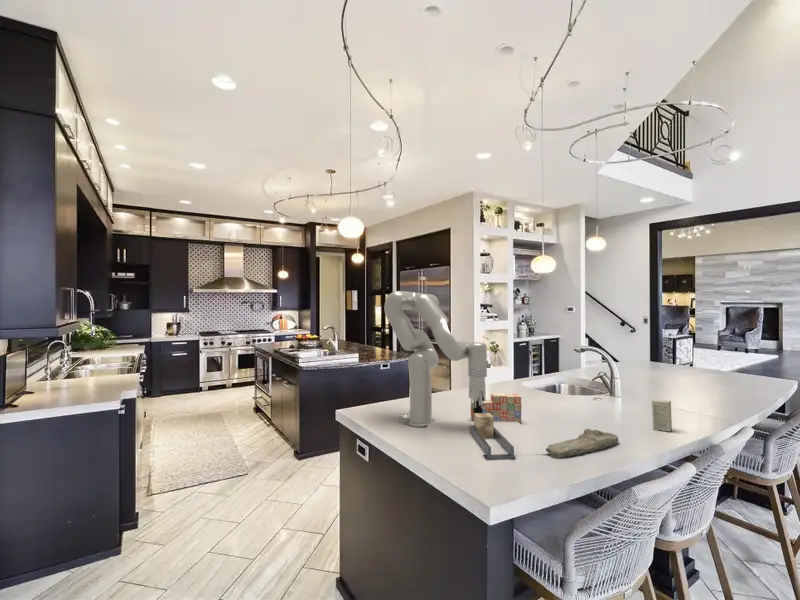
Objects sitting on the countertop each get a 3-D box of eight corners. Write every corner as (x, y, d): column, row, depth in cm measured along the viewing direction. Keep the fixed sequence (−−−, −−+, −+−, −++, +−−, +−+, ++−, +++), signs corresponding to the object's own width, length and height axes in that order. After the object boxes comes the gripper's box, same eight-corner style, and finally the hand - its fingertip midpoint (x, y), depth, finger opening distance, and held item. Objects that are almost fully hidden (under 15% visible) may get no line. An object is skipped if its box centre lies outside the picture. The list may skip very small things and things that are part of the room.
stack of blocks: (471, 423, 180) (471, 395, 180) (470, 419, 187) (470, 392, 187) (521, 424, 179) (521, 396, 179) (518, 420, 185) (518, 393, 185)
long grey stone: (538, 456, 145) (561, 467, 136) (538, 442, 144) (561, 452, 136) (601, 436, 162) (625, 444, 153) (601, 422, 161) (626, 431, 153)
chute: (486, 459, 137) (486, 447, 138) (468, 435, 163) (468, 425, 163) (515, 459, 138) (515, 447, 138) (493, 434, 164) (493, 424, 164)
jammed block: (478, 438, 156) (477, 417, 156) (474, 433, 162) (474, 413, 162) (493, 438, 157) (493, 417, 157) (489, 433, 163) (489, 412, 163)
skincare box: (672, 430, 170) (671, 400, 170) (670, 432, 167) (669, 402, 167) (654, 427, 174) (654, 398, 175) (651, 429, 171) (651, 400, 171)
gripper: (464, 370, 176) (464, 412, 176) (472, 375, 161) (473, 422, 161) (481, 369, 177) (482, 412, 176) (491, 375, 162) (492, 422, 162)
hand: (477, 417), depth 169 cm, fingers closed
